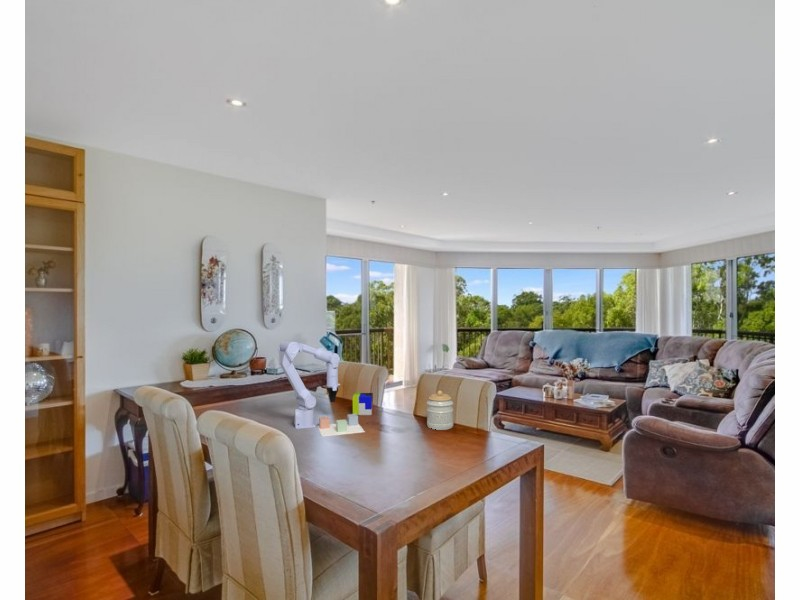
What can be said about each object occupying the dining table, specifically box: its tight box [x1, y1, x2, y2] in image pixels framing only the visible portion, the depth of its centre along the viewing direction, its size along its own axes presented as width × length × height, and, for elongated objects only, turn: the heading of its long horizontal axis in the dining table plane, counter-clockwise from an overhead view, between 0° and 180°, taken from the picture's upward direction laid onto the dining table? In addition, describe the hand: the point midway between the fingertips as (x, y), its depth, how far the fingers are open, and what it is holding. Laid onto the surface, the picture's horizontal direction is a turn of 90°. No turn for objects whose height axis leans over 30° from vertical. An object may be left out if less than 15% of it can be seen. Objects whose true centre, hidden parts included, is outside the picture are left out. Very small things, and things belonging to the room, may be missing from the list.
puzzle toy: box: [352, 392, 374, 416], centre depth 235 cm, size 10×10×10 cm
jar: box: [426, 390, 454, 431], centre depth 209 cm, size 13×13×18 cm
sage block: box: [335, 419, 347, 432], centre depth 203 cm, size 4×4×4 cm
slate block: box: [346, 413, 359, 426], centre depth 213 cm, size 4×4×4 cm
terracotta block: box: [318, 415, 331, 429], centre depth 208 cm, size 4×4×4 cm
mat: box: [317, 423, 366, 438], centre depth 206 cm, size 20×18×1 cm
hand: (332, 401), depth 221 cm, fingers closed
